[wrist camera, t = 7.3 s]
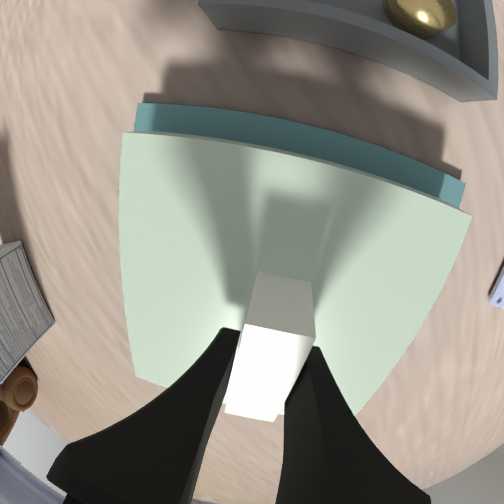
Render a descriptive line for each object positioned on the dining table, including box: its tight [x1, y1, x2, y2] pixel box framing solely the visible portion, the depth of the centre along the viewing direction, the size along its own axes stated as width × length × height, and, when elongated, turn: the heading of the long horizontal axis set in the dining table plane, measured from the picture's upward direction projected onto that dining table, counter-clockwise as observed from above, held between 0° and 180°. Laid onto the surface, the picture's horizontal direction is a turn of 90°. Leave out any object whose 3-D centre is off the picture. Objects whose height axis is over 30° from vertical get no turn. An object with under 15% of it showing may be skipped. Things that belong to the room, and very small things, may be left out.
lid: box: [119, 131, 472, 422], centre depth 10 cm, size 13×13×5 cm
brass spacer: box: [382, 0, 457, 40], centre depth 6 cm, size 3×3×2 cm
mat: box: [134, 103, 466, 208], centre depth 14 cm, size 16×16×1 cm
